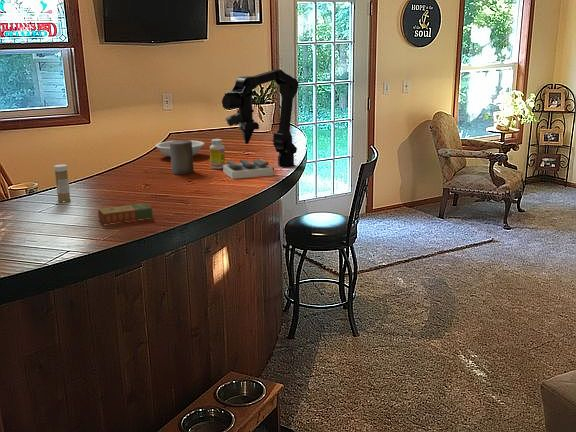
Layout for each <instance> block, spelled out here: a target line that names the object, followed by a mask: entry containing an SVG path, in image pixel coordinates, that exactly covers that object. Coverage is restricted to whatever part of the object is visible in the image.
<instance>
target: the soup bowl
mask: <svg viewBox="0 0 576 432" xmlns="http://www.w3.org/2000/svg"><path fill="white" fill-rule="evenodd" d="M189 140H190V139H189ZM172 141H173V140H169V141H163V142H159V143H156V144H155V147H156V148H158V149H159V151H160V152H161V153H162V154H163V155H165V156H166V157H169V158H171V153H170V142H172ZM190 141H192V153H193V156H194V155H196V154H197V153H198V152H199V151H200V150H201V149H202V147H203V146H204V145H205V141H204V142H203V141H200V140H190Z"/></svg>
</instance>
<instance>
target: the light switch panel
mask: <svg viewBox="0 0 576 432" xmlns="http://www.w3.org/2000/svg"><path fill="white" fill-rule="evenodd" d="M252 163H253V162H252ZM239 164H240V165H241V166H242V169H236V168H233V167H231V166H230V165H228V164H225V165H223V168H222V171H223V173H224V174H225V175H227V176H228V177H229V178H231V179H232V180H235V179H244V178H246V179H247V178H257V177H258V178H259V177H268V176H274V171H275V167H271V166H270V165H266V167H259V166H257V165H256V164H255V165H256V167H255V168H253V167H252V168H249V167H246V166H245V165H243V164H242V163H239ZM253 164H254V163H253Z"/></svg>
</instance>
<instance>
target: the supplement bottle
mask: <svg viewBox="0 0 576 432" xmlns="http://www.w3.org/2000/svg"><path fill="white" fill-rule="evenodd" d="M225 151H226V149H225V146H224V145H223V139H222V138H221V139H220V138H214V139H211V145H210V146H209V157H210V158H209V161H210V168H211V169H214V170H218V169H223V165H226V153H225Z"/></svg>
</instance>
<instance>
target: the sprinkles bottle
mask: <svg viewBox="0 0 576 432" xmlns="http://www.w3.org/2000/svg"><path fill="white" fill-rule="evenodd" d="M53 171H54V174H55V185H56V187H55V188H56V195H57V202H58V201H59V203H64V202H63V201H68V202H70V201H71V191H70V182H69V176H68V165H67V164H56V165H53ZM69 200H70V201H69Z"/></svg>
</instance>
